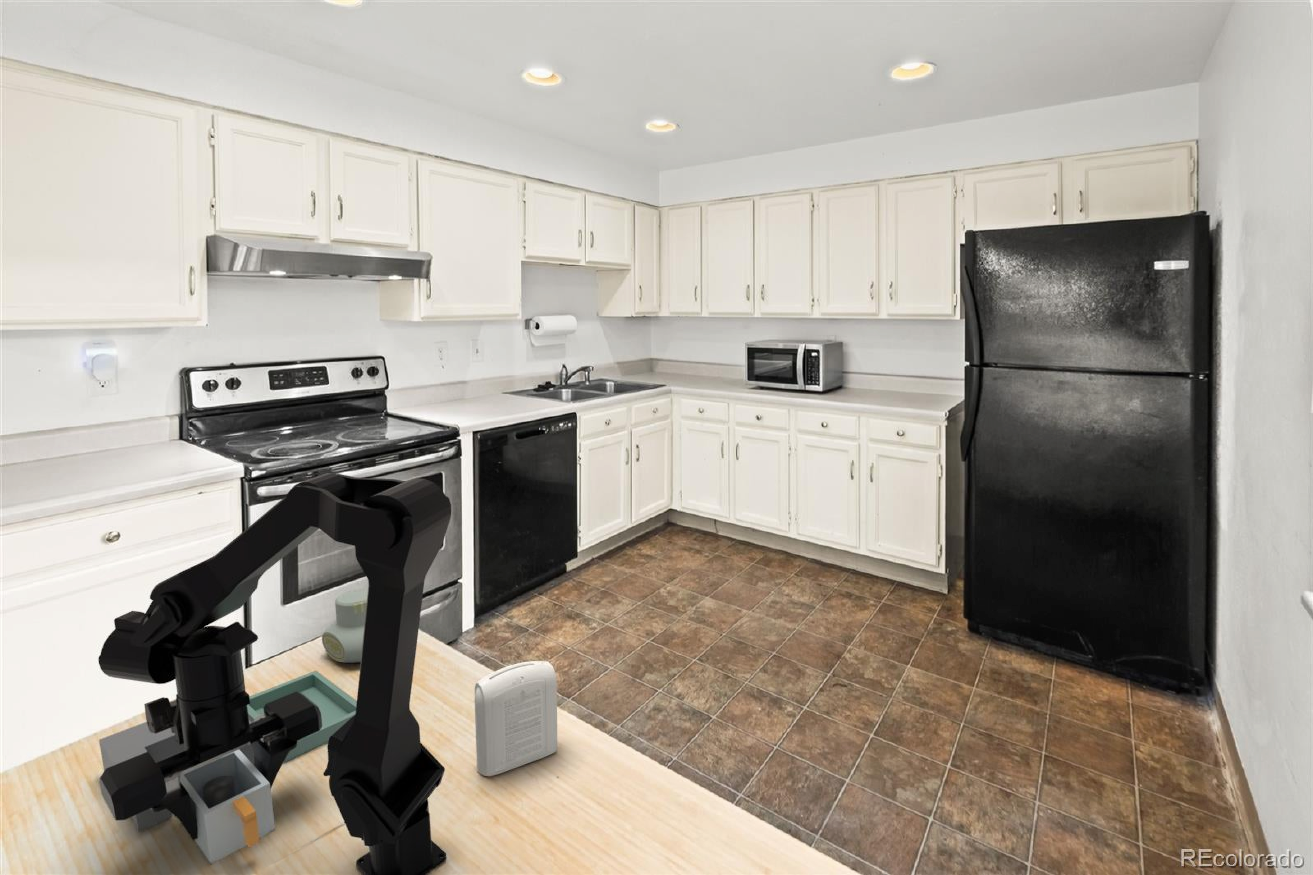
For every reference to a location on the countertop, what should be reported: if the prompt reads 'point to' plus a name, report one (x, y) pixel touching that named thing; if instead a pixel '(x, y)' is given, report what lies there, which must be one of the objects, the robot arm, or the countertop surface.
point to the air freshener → (347, 627)
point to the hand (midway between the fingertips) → (228, 819)
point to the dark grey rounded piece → (218, 790)
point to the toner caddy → (230, 806)
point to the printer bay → (159, 748)
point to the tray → (321, 693)
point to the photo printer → (515, 716)
